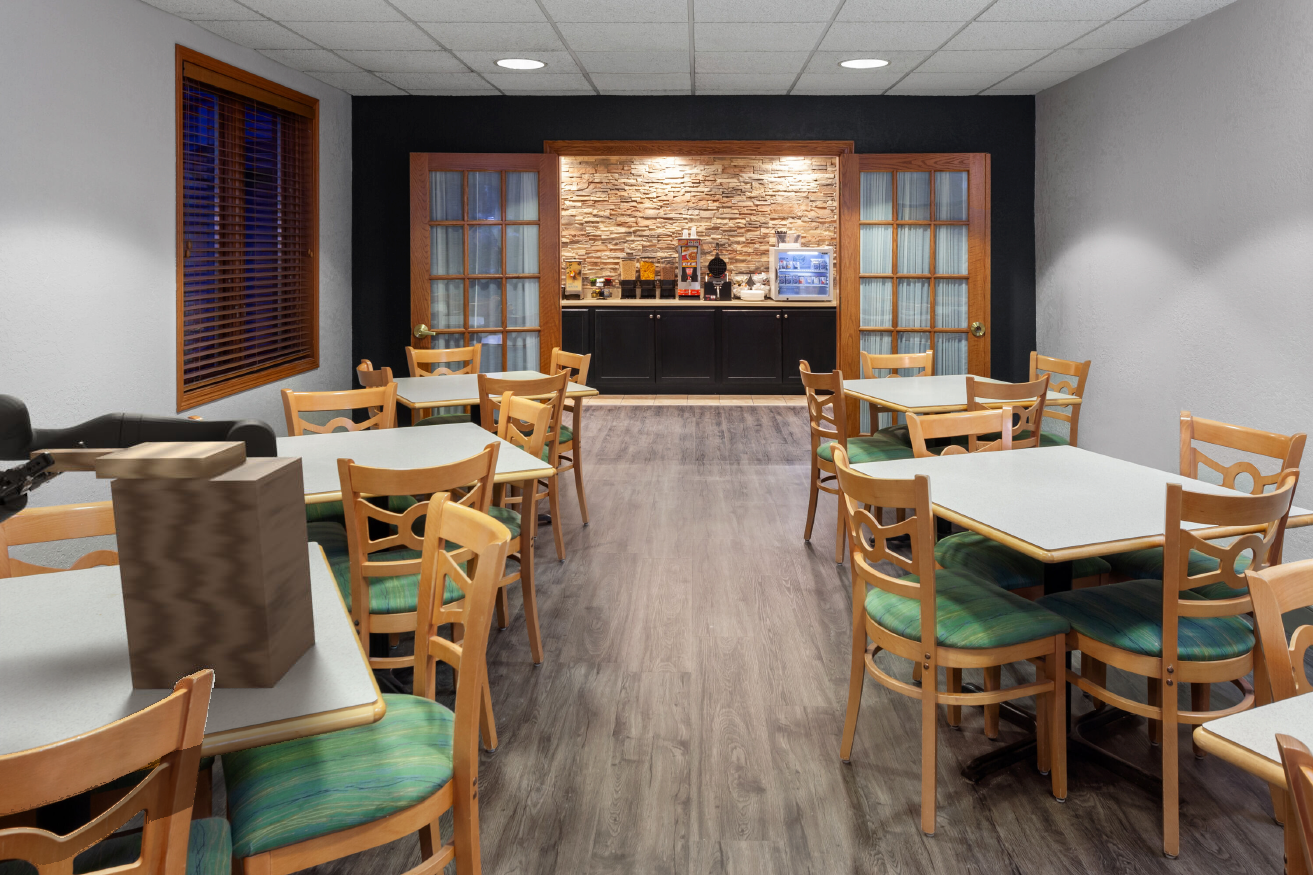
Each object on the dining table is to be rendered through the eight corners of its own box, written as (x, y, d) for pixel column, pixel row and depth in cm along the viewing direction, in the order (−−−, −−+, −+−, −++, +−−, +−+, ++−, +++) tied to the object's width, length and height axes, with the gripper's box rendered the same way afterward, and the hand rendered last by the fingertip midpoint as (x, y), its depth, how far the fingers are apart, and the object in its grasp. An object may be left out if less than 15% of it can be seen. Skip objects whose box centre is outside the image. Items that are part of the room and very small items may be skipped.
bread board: (246, 459, 149) (244, 441, 149) (205, 477, 136) (203, 457, 135) (67, 461, 149) (65, 443, 149) (7, 479, 135) (5, 459, 135)
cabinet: (315, 641, 157) (301, 457, 151) (272, 687, 139) (255, 480, 134) (191, 642, 157) (173, 458, 151) (132, 689, 139) (110, 481, 133)
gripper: (-67, 494, 136) (22, 439, 134) (0, 474, 150) (82, 424, 148) (-36, 536, 137) (53, 482, 135) (28, 513, 151) (109, 463, 149)
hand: (68, 452), depth 142 cm, fingers open, 8 cm apart
